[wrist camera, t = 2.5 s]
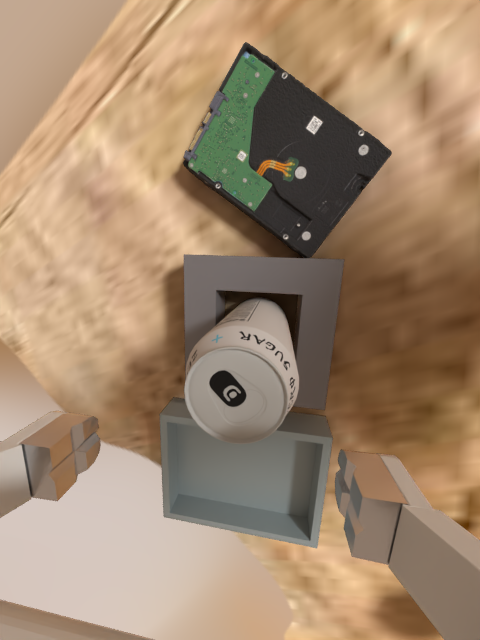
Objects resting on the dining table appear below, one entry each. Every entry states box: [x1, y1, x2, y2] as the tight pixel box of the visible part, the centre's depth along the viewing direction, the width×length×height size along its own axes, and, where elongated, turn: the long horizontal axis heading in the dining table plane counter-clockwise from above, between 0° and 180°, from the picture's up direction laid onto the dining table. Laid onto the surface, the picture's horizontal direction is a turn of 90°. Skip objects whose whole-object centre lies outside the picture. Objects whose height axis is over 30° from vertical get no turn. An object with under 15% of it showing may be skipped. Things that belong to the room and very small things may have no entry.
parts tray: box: [160, 397, 333, 548], centre depth 27 cm, size 18×14×4 cm
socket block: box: [184, 255, 344, 410], centre depth 23 cm, size 14×14×4 cm
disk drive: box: [183, 42, 392, 258], centre depth 21 cm, size 10×3×15 cm
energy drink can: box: [184, 297, 299, 444], centre depth 18 cm, size 6×6×15 cm
